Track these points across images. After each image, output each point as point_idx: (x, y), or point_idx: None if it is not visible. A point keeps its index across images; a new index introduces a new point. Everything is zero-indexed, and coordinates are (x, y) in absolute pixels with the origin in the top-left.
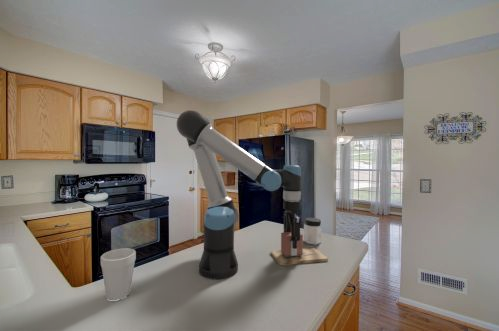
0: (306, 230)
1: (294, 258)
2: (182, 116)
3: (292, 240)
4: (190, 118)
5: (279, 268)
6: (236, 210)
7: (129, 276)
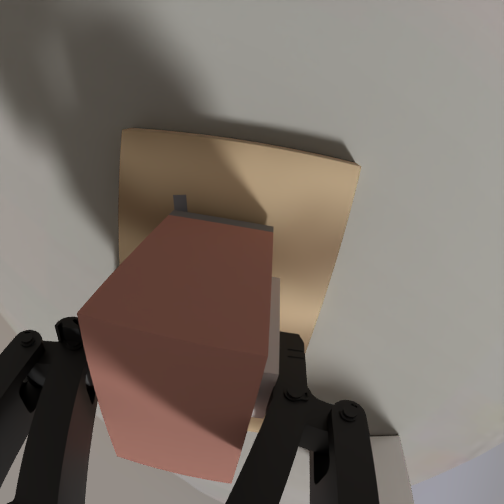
0: (383, 490)
1: None
2: None
3: (64, 334)
4: None
5: (97, 107)
6: None
7: None
